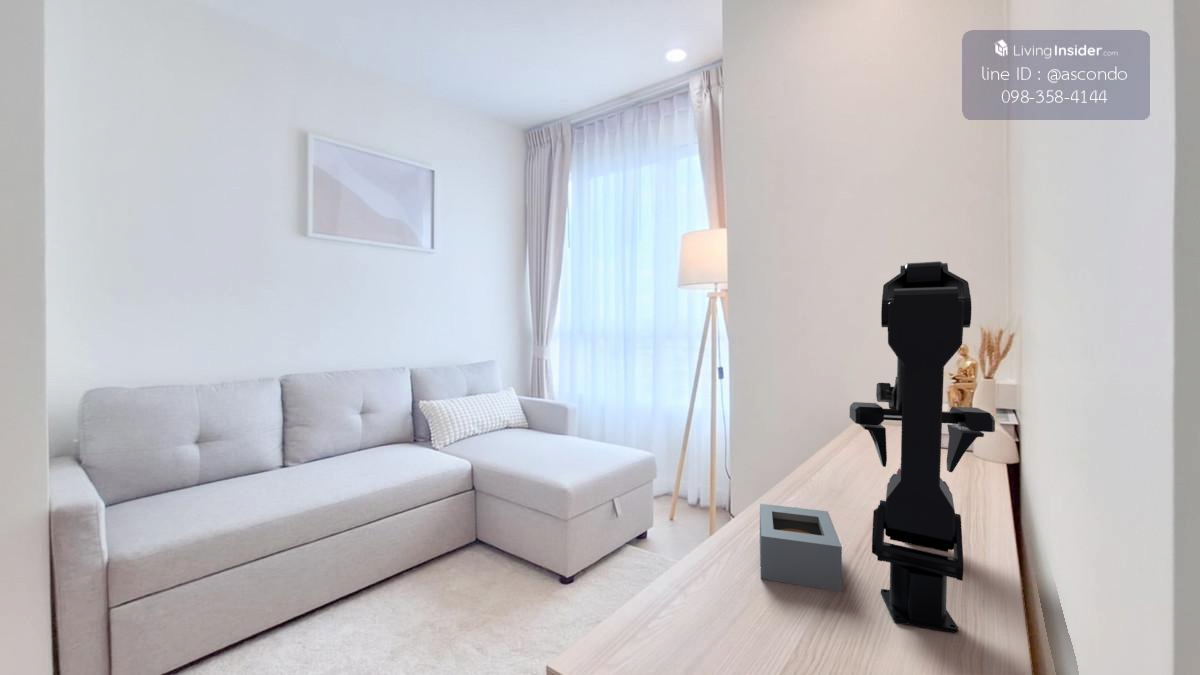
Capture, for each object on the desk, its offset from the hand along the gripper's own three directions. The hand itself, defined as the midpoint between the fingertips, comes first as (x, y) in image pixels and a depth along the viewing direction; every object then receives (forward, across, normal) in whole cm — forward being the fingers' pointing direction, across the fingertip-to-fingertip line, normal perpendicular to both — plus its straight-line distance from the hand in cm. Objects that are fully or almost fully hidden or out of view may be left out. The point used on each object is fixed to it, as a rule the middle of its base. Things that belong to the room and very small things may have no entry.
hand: (916, 468), depth 76 cm
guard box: (+12, +19, +14) cm, 26 cm away
